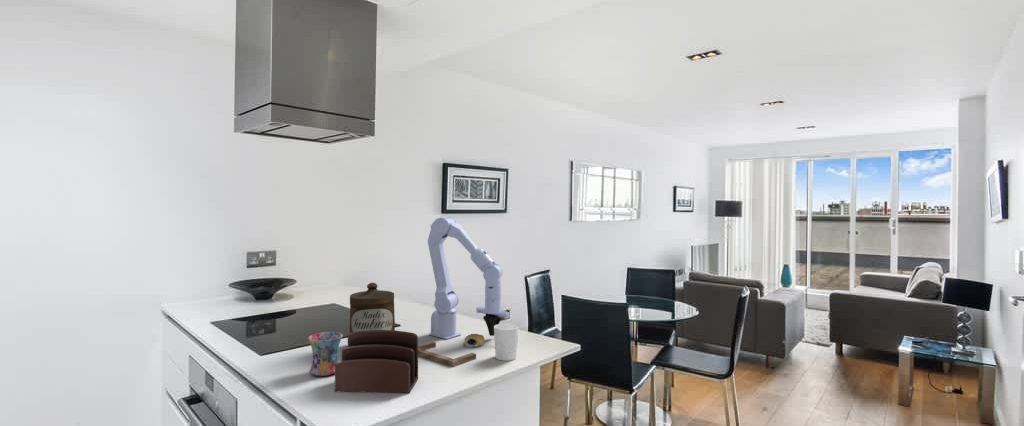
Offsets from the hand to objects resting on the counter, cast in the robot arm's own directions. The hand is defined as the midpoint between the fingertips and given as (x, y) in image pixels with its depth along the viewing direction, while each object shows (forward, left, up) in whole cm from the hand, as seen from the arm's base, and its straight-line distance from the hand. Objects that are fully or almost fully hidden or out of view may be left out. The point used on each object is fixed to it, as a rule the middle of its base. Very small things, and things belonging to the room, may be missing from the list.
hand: (492, 335), depth 171 cm
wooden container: (-25, -34, -2) cm, 42 cm away
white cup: (+17, -13, -2) cm, 21 cm away
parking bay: (0, -25, -1) cm, 25 cm away
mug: (-15, -56, -2) cm, 58 cm away
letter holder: (+5, -53, -2) cm, 53 cm away
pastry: (-1, -9, -2) cm, 9 cm away
